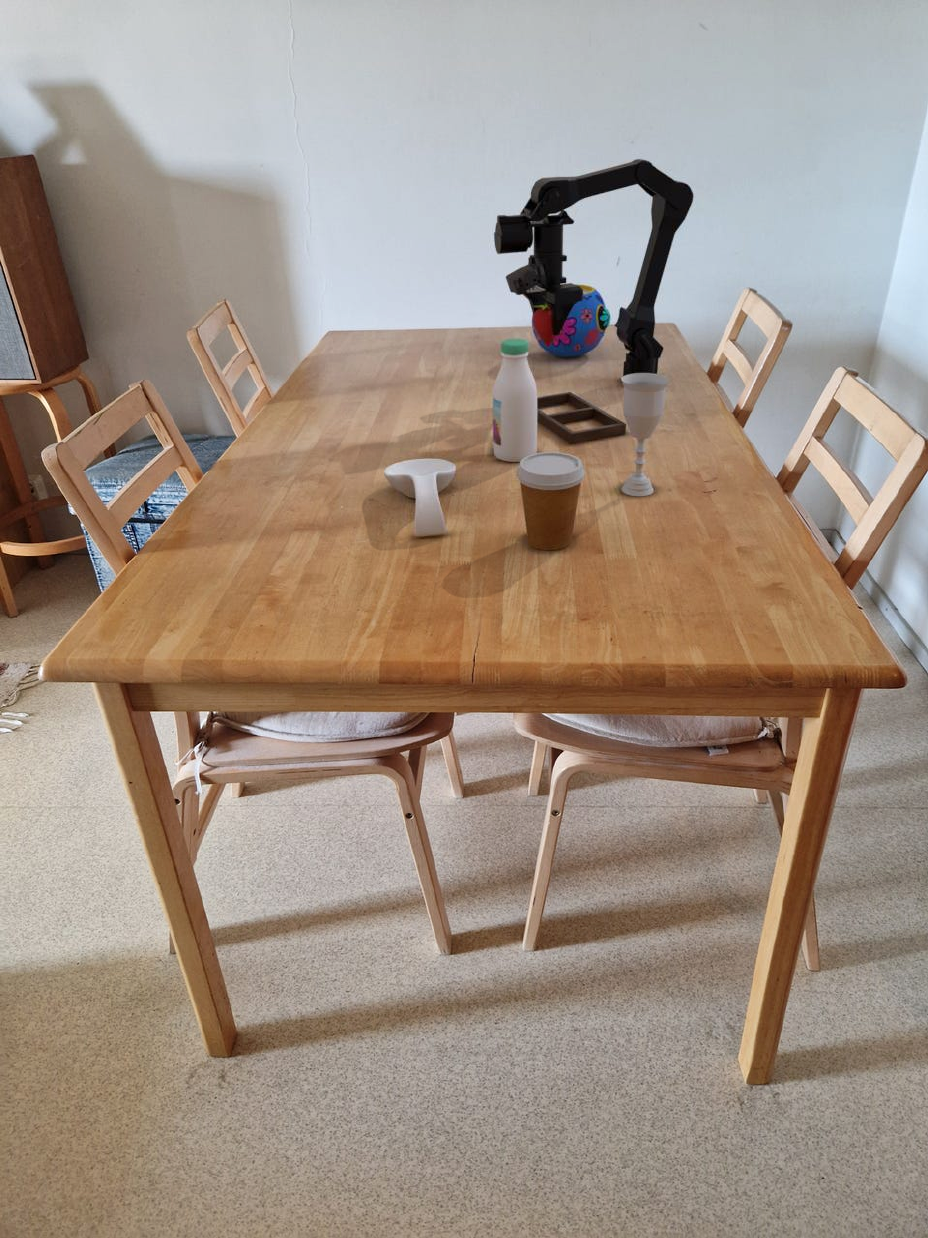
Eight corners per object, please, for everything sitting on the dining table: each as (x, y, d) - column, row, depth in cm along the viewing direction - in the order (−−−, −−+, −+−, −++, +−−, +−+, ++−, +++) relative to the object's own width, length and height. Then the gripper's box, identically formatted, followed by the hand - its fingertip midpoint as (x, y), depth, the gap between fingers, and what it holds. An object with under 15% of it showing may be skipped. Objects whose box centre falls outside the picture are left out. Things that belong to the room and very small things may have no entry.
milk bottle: (543, 450, 161) (544, 337, 150) (527, 465, 155) (527, 348, 145) (503, 445, 164) (502, 333, 153) (486, 459, 158) (484, 345, 147)
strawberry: (535, 351, 181) (535, 300, 176) (530, 342, 188) (530, 292, 183) (564, 350, 182) (565, 298, 176) (558, 340, 188) (559, 291, 183)
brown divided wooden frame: (569, 401, 184) (570, 391, 183) (625, 434, 166) (626, 423, 165) (519, 409, 180) (519, 400, 179) (571, 444, 163) (571, 433, 162)
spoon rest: (383, 479, 152) (380, 439, 148) (452, 474, 153) (450, 433, 149) (393, 541, 132) (389, 496, 128) (472, 534, 133) (470, 489, 129)
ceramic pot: (610, 363, 206) (614, 295, 198) (533, 366, 206) (533, 298, 198) (601, 343, 221) (604, 279, 213) (529, 346, 221) (530, 282, 213)
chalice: (663, 484, 146) (673, 374, 137) (657, 500, 141) (666, 387, 131) (618, 479, 148) (625, 371, 139) (610, 495, 143) (617, 384, 133)
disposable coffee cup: (564, 561, 124) (566, 481, 118) (504, 546, 129) (503, 468, 123) (593, 534, 131) (596, 457, 125) (535, 521, 136) (536, 446, 129)
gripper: (491, 247, 180) (493, 326, 188) (532, 261, 165) (532, 347, 173) (540, 241, 183) (540, 319, 192) (585, 255, 169) (583, 339, 177)
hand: (547, 331), depth 183 cm, fingers closed on strawberry, 7 cm apart
